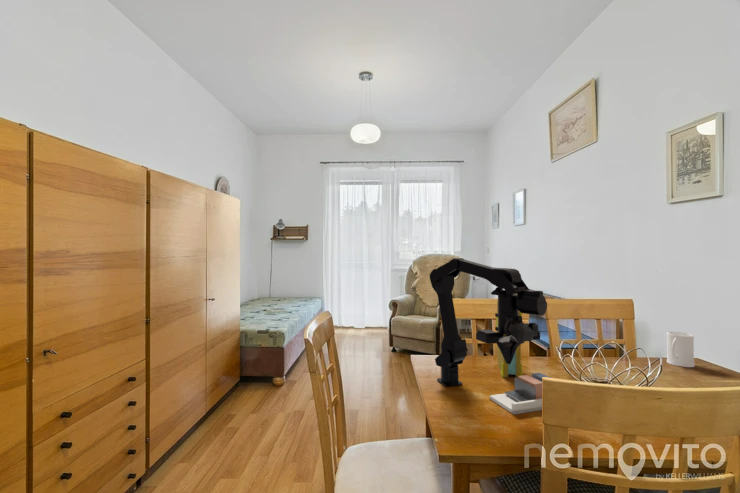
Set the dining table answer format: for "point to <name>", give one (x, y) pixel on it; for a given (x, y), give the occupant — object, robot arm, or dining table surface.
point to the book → (516, 361)
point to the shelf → (517, 406)
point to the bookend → (522, 391)
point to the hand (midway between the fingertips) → (508, 363)
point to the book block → (533, 384)
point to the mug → (680, 349)
